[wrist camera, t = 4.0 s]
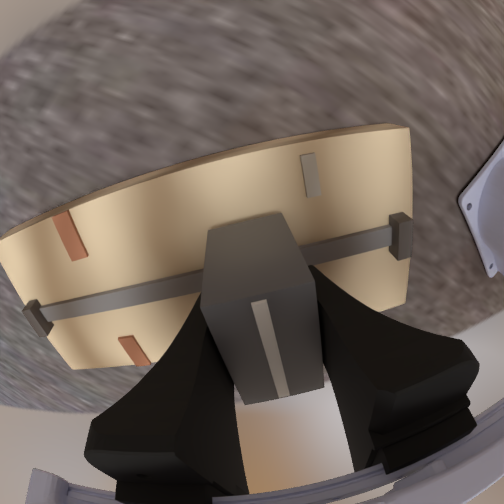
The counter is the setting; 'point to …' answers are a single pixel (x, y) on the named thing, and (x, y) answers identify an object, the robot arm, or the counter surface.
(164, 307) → the slider panel
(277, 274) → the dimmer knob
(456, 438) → the robot arm
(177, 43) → the counter surface
